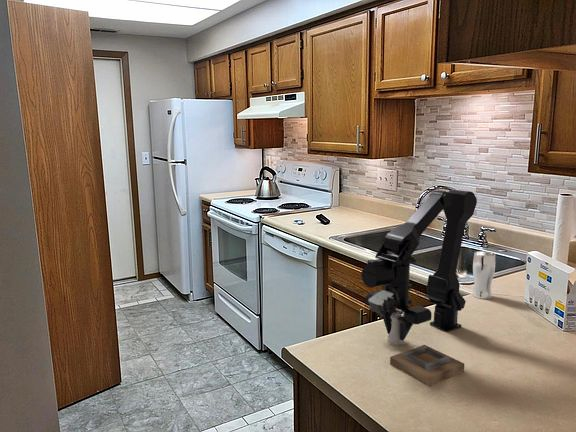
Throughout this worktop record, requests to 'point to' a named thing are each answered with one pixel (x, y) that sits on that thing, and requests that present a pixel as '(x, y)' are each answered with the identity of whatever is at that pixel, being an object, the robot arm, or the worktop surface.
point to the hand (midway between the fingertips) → (395, 336)
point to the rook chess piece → (395, 331)
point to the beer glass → (483, 274)
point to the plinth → (427, 364)
